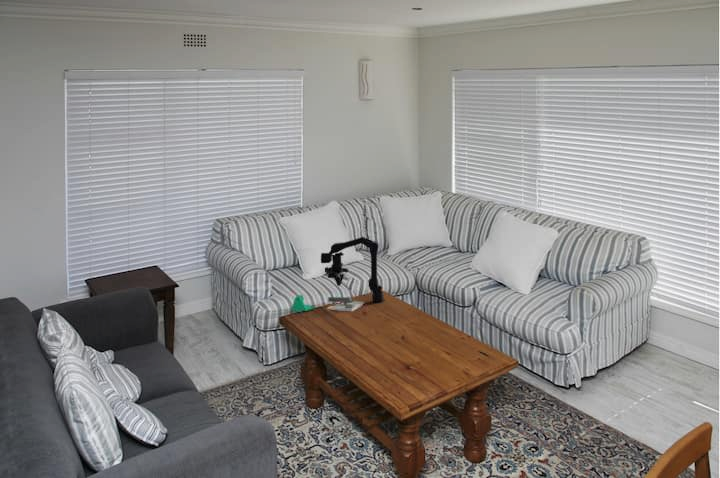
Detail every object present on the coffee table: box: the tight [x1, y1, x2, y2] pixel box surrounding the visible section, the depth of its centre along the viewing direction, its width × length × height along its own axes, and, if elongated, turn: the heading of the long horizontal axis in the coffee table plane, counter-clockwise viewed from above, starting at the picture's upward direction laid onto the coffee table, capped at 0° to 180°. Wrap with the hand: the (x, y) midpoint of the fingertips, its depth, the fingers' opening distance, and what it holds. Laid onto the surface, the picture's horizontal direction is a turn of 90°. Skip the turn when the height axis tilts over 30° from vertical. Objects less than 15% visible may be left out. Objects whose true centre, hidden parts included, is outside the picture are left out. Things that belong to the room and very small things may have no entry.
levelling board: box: [326, 300, 365, 312], centre depth 388 cm, size 18×18×4 cm
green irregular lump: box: [291, 294, 314, 313], centre depth 390 cm, size 12×8×10 cm, turn 53°
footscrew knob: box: [327, 296, 353, 305], centre depth 391 cm, size 17×6×4 cm, turn 64°
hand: (339, 285), depth 398 cm, fingers closed
